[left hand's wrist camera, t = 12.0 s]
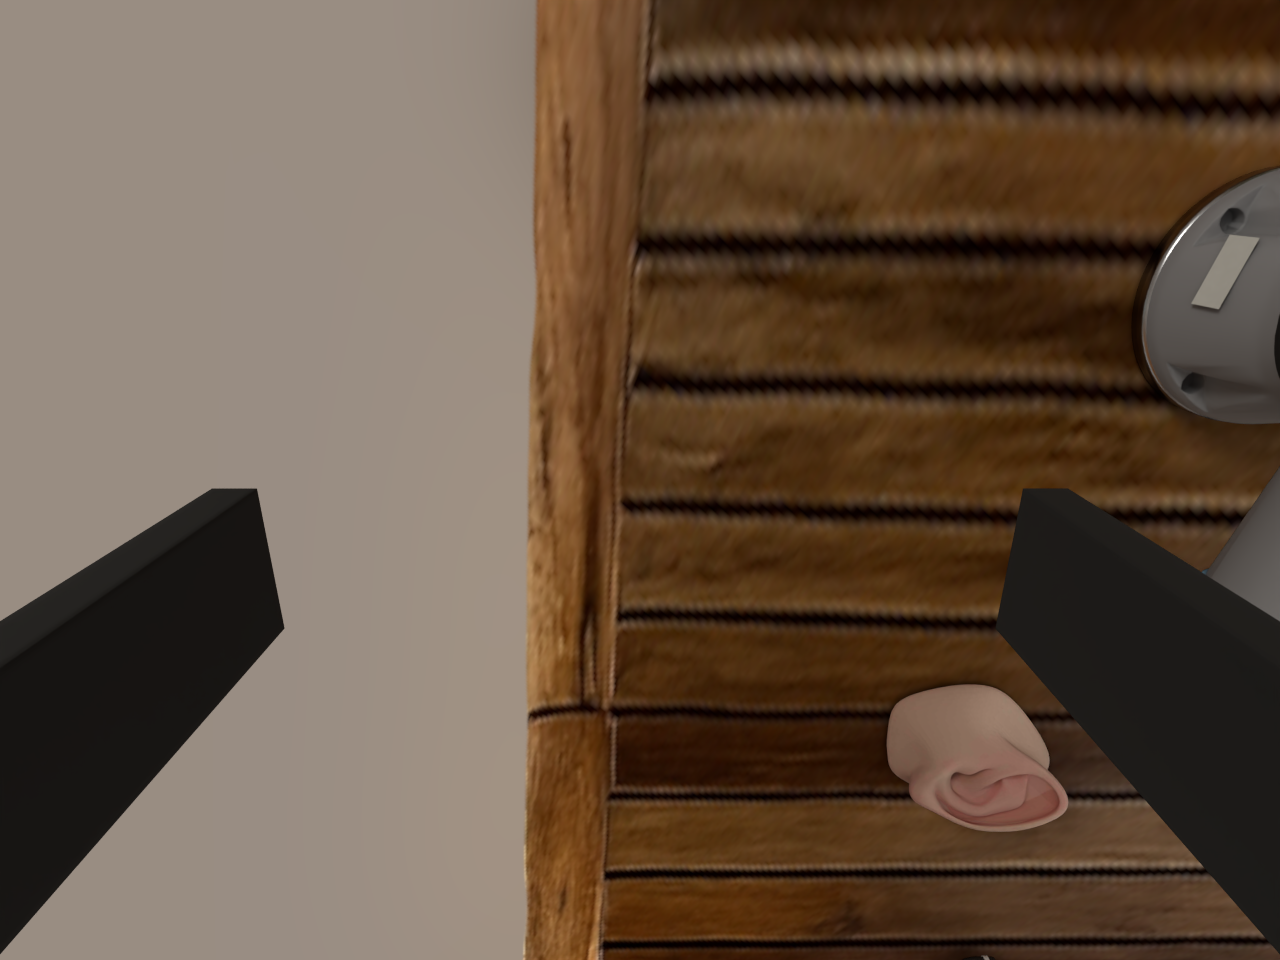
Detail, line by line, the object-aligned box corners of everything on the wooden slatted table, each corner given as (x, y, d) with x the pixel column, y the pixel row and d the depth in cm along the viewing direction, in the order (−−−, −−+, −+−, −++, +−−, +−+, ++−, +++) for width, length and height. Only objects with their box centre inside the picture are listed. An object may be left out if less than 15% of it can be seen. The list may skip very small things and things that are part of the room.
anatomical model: (878, 750, 51) (1032, 686, 49) (862, 714, 55) (1004, 653, 53) (943, 871, 55) (1088, 816, 53) (924, 830, 59) (1058, 777, 57)
